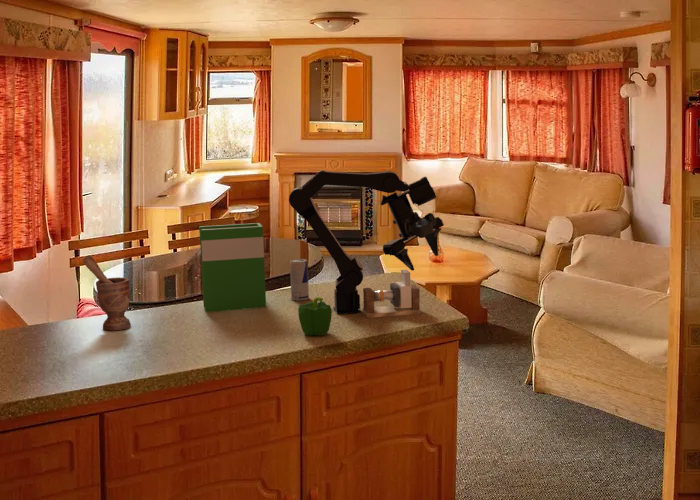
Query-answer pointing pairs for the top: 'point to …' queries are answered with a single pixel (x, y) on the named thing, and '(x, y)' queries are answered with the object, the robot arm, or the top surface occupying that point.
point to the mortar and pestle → (111, 296)
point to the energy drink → (299, 279)
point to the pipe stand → (388, 295)
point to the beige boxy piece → (405, 290)
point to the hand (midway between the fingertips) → (425, 262)
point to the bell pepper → (315, 317)
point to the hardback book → (232, 267)
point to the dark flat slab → (395, 294)
